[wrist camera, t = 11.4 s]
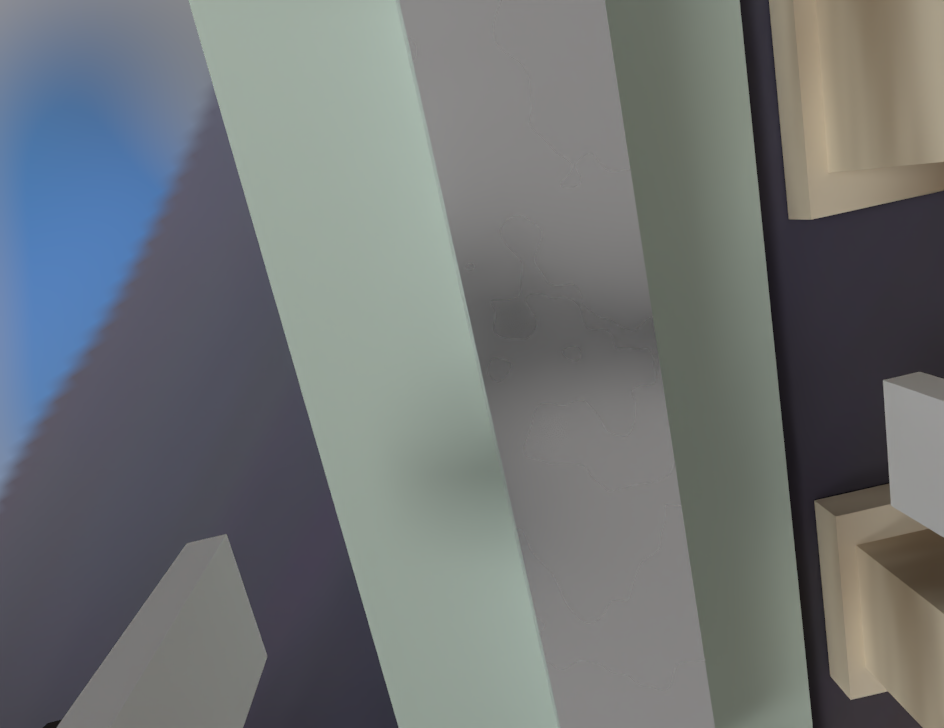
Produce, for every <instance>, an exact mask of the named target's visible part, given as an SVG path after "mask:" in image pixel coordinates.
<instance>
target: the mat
mask: <svg viewBox="0 0 944 728" xmlns="http://www.w3.org/2000/svg"><path fill="white" fill-rule="evenodd" d="M189 4H190V7H191V11H192V14H193V17H194V21H195V24H196V28H197V31H198V34H199V38H200V42H201V45H202V49H203V52H204V55H205V59H206V62H207V66H208V69H209V73H210V76H211V80H212V83H213V87H214V90H215V94H216V97H217V101H218V104H219V107H220V111H221V114H222V118H223V121H224V125H225V128H226V132H227V135H228V139H229V142H230V146H231V149H232V152H233V156H234V159H235V163H236V166H237V170H238V173H239V177H240V180H241V184H242V187H243V191H244V194H245V197H246V201H247V204H248V208H249V211H250V215H251V218H252V222H253V225H254V229H255V232H256V236H257V239H258V242H259V246H260V249H261V253H262V256H263V260H264V263H265V267H266V270H267V274H268V277H269V281H270V284H271V287H272V291H273V294H274V298H275V301H276V305H277V308H278V312H279V315H280V319H281V322H282V325H283V329H284V332H285V336H286V339H287V343H288V346H289V350H290V353H291V357H292V360H293V364H294V367H295V370H296V374H297V377H298V381H299V384H300V388H301V391H302V395H303V398H304V402H305V405H306V409H307V412H308V415H309V419H310V422H311V426H312V429H313V433H314V436H315V440H316V443H317V447H318V450H319V454H320V457H321V460H322V464H323V467H324V471H325V474H326V478H327V481H328V485H329V488H330V492H331V495H332V499H333V502H334V505H335V509H336V512H337V516H338V519H339V523H340V526H341V530H342V533H343V537H344V540H345V544H346V547H347V550H348V554H349V557H350V561H351V564H352V568H353V571H354V575H355V578H356V582H357V585H358V589H359V592H360V595H361V599H362V602H363V606H364V609H365V613H366V616H367V620H368V623H369V627H370V630H371V634H372V637H373V640H374V644H375V647H376V651H377V654H378V658H379V661H380V665H381V668H382V672H383V675H384V679H385V682H386V685H387V689H388V692H389V696H390V699H391V703H392V706H393V710H394V713H395V717H396V720H397V724H398V727H399V728H558V727H557V723H556V719H555V714H554V710H553V705H552V701H551V696H550V692H549V687H548V683H547V678H546V674H545V669H544V665H543V660H542V656H541V651H540V647H539V642H538V638H537V633H536V629H535V624H534V620H533V615H532V611H531V607H530V602H529V598H528V593H527V589H526V584H525V580H524V575H523V571H522V566H521V562H520V557H519V553H518V548H517V544H516V539H515V535H514V530H513V526H512V521H511V517H510V512H509V508H508V503H507V499H506V495H505V490H504V486H503V481H502V477H501V472H500V468H499V463H498V459H497V454H496V450H495V445H494V441H493V436H492V432H491V427H490V423H489V418H488V414H487V409H486V405H485V400H484V396H483V391H482V387H481V383H480V378H479V374H478V369H477V365H476V360H475V356H474V351H473V347H472V342H471V338H470V333H469V329H468V324H467V320H466V315H465V311H464V306H463V302H462V297H461V293H460V288H459V284H458V279H457V275H456V271H455V266H454V262H453V257H452V253H451V248H450V244H449V239H448V235H447V230H446V226H445V221H444V217H443V212H442V208H441V203H440V199H439V194H438V190H437V185H436V181H435V176H434V172H433V167H432V163H431V159H430V154H429V150H428V145H427V141H426V136H425V132H424V127H423V123H422V118H421V114H420V109H419V105H418V100H417V96H416V91H415V87H414V82H413V78H412V73H411V69H410V64H409V60H408V55H407V51H406V47H405V42H404V38H403V33H402V29H401V24H400V20H399V15H398V11H397V6H396V2H395V0H189ZM605 5H606V11H607V18H608V25H609V31H610V38H611V44H612V51H613V58H614V64H615V71H616V77H617V84H618V91H619V97H620V104H621V110H622V117H623V124H624V130H625V137H626V143H627V150H628V157H629V163H630V170H631V176H632V183H633V190H634V196H635V203H636V209H637V216H638V223H639V229H640V236H641V242H642V249H643V256H644V262H645V269H646V275H647V282H648V289H649V295H650V302H651V308H652V315H653V322H654V328H655V335H656V341H657V348H658V355H659V361H660V368H661V374H662V381H663V388H664V394H665V401H666V407H667V414H668V421H669V427H670V434H671V440H672V447H673V454H674V460H675V467H676V473H677V480H678V487H679V493H680V500H681V506H682V513H683V520H684V526H685V533H686V539H687V546H688V553H689V559H690V566H691V572H692V579H693V586H694V592H695V599H696V605H697V612H698V619H699V625H700V632H701V638H702V645H703V652H704V658H705V665H706V671H707V678H708V685H709V691H710V698H711V704H712V711H713V718H714V724H715V728H813V724H812V715H811V705H810V695H809V685H808V675H807V665H806V655H805V645H804V635H803V625H802V615H801V605H800V595H799V585H798V576H797V566H796V556H795V546H794V536H793V526H792V516H791V506H790V496H789V486H788V476H787V466H786V456H785V446H784V437H783V427H782V417H781V407H780V397H779V387H778V377H777V367H776V357H775V347H774V337H773V327H772V317H771V307H770V298H769V288H768V278H767V268H766V258H765V248H764V238H763V228H762V218H761V208H760V198H759V188H758V178H757V168H756V158H755V149H754V139H753V129H752V119H751V109H750V99H749V89H748V79H747V69H746V59H745V49H744V39H743V29H742V19H741V10H740V0H605Z"/></svg>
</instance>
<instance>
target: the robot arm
mask: <svg viewBox="0 0 944 728" xmlns="http://www.w3.org/2000/svg"><path fill="white" fill-rule="evenodd" d="M883 390H884V405H885V421H886V436H887V452H888V467H889V482H890V498H891V506H892V507H894V508H896V509H897V510H899V511H901V512H902V513H904V514H905V515H907V516H909V517H910V518H912V519H914V520H915V521H917V522H919V523H920V524H922V525H924V526H925V527H927V528H929V529H930V530H932V531H934V532H935V533H937V534H939V535H940V536H942V537H944V379H943V378H939V377H936V376H933V375H929V374H926V373H923V372H916V373H911V374H907V375H903V376H899V377H894V378H890V379H886V380H883ZM266 659H267V654H266V651H265V648H264V645H263V642H262V639H261V636H260V633H259V630H258V627H257V624H256V621H255V618H254V615H253V612H252V609H251V606H250V603H249V600H248V597H247V594H246V591H245V588H244V585H243V582H242V579H241V576H240V573H239V570H238V567H237V564H236V561H235V558H234V555H233V552H232V549H231V546H230V543H229V540H228V537H227V534H225V535H220V536H216V537H212V538H208V539H203V540H199V541H195V542H191V543H187V544H186V545H185V547H184V548H183V549H182V551H181V552H180V554H179V555H178V556H177V558H176V559H175V561H174V562H173V564H172V565H171V566H170V568H169V569H168V571H167V572H166V573H165V575H164V576H163V578H162V579H161V581H160V582H159V583H158V585H157V586H156V588H155V589H154V590H153V592H152V593H151V595H150V596H149V597H148V599H147V600H146V602H145V603H144V605H143V606H142V607H141V609H140V610H139V612H138V613H137V614H136V616H135V617H134V619H133V620H132V622H131V623H130V624H129V626H128V627H127V629H126V630H125V631H124V633H123V634H122V636H121V637H120V638H119V640H118V641H117V643H116V644H115V646H114V647H113V648H112V650H111V651H110V653H109V654H108V655H107V657H106V658H105V660H104V661H103V663H102V664H101V665H100V667H99V668H98V670H97V671H96V672H95V674H94V675H93V677H92V678H91V679H90V681H89V682H88V684H87V685H86V687H85V688H84V689H83V691H82V692H81V694H80V695H79V696H78V698H77V699H76V701H75V702H74V704H73V705H72V706H71V708H70V709H69V711H68V712H67V713H66V715H65V716H64V718H63V719H62V720H59V721H54V722H50V723H47V724H46V725H45V726H44V727H43V728H243V727H244V724H245V721H246V718H247V715H248V712H249V709H250V706H251V703H252V700H253V697H254V694H255V691H256V689H257V686H258V683H259V680H260V677H261V674H262V671H263V668H264V665H265V662H266Z"/></svg>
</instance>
